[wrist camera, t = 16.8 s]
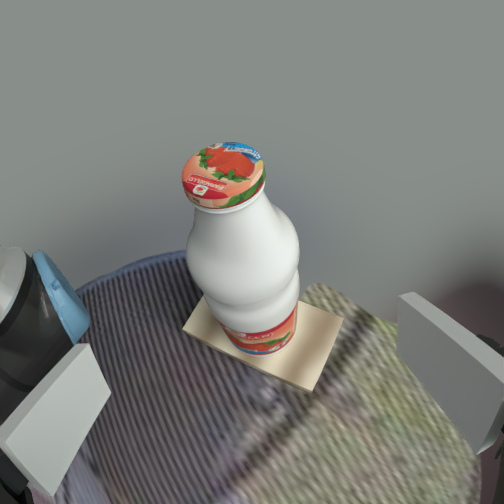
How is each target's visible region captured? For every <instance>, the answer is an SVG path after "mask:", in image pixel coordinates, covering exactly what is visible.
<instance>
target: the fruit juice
mask: <svg viewBox="0 0 504 504" xmlns="http://www.w3.org/2000/svg"><path fill="white" fill-rule="evenodd" d="M182 183H183V187H184V191H185V193H186V196H187V197H188V199H189V201H190V202H191V203H192V205H193V206H195V210H194V223H193V227H192V229H191V231H190V233H189V236H188V239H187V244H186V260H187V265H188V268H189V271H190V273H191V275H192V278H193V280H194V281H195V283H196V284H197V286H198V287H199V288H200V289H201V290H202V291H203V295H204V298H205V300H206V303H207V305H208V307H209V309H210V310H211V312H212V314H213V315H214V316H215V318H216V319H217V321H218V322H219V324H220V326H221V327H222V329H223V330H224V332H225V333H226V335H227V336H228V338H229V339H230V341H231V342H232V344H233V345H234V346H235V347H236V348H237V349H238V350H239V351H241V352H242V353H244V354H246V355H248V356H252V357H257V358H265V357H270V356H273V355H276V354H278V353H280V352H281V351H283V350H284V349H285V348H286V347H287V346H288V345H289V344H290V342H291V341H292V339H293V337H294V335H295V331H296V326H297V313H298V298H299V275H298V269H297V265H298V261H299V242H298V237H297V233H296V231H295V229H294V226H293V224H292V223H291V221H290V220H289V218H288V217H287V216H286V215H285V214H284V213H283V212H282V211H281V210H280V209H279V208H277V207H276V206H274V205H273V204H271V203H270V202H269V200H268V198H267V196H266V195H265V193H264V191H263V189H264V185H265V168H264V165H263V161H262V158H261V156H260V155H259V153H258V152H257V151H256V150H255V149H253V148H252V147H250V146H248V145H245V144H241V143H234V142H226V143H219V144H215V145H211V146H209V147H206V148H204V149H202V150H200V151H199V152H197V153H196V154H194V155H193V156H192V157H191V158H190V159H189V160H188V161H187V163H186V164H185V166H184V169H183V171H182Z"/></svg>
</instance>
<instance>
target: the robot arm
mask: <svg viewBox="0 0 504 504" xmlns="http://www.w3.org/2000/svg"><path fill="white" fill-rule="evenodd" d="M89 322H90V318H89V314H88V312H87V310H86V308H85V306H84V305H83V303H82V302H81V300H80V299H79V297H78V296H77V294H76V293H75V291H74V290H73V288H72V287H71V286H70V284H69V283H68V281H67V280H66V278H65V277H64V276H63V274H62V273H61V272H60V270H59V269H58V268H57V267H56V265H55V264H54V262H53V261H52V260H51V259H50V257H49V256H48V255H47V254H46V253H44V251H42V250H38V251H37V252H34V253H33V254H32V257H29V256H28V255H27V254H26V253H25V252H24V251H23V250H22V249H21V248H20V247H17V246H15V247H9V248H3V247H1V246H0V425H2V426H1V427H0V504H34V503H33V498H32V493H31V491H30V489H29V488H28V487H27V486H26V485H27V483H28V482H30V483H31V484H32V485H33V486H34V487H35V488H36V489H37V490H38V491H39V492H41V493H44V494H46V495H49V496H52V497H53V496H54V494H55V493H56V491H57V489H58V487H59V485H60V483H61V481H62V479H63V477H64V475H65V473H66V472H67V470H68V468H69V466H70V464H71V462H72V460H73V459H74V457H75V455H76V453H77V451H78V450H79V448H80V446H81V444H82V442H83V441H84V439H85V437H86V435H87V434H88V432H89V430H90V428H91V427H92V425H93V423H94V421H95V420H96V418H97V416H98V414H99V413H100V411H101V409H102V408H103V406H104V404H105V403H106V401H107V399H108V398H109V396H110V394H111V392H110V390H109V387H108V385H107V383H106V381H105V379H104V377H103V375H102V373H101V370H100V368H99V366H98V364H97V361H96V359H95V357H94V354H93V352H92V350H91V347H90V345H89V343H86V344H77V341H78V340H79V339H80V338H81V336H82V335H83V334H84V333H85V331H86V330H87V329H88V327H89ZM396 353H397V354H398V355H399V356H400V358H401V359H402V360H403V361H404V362H405V364H406V365H407V366H408V367H409V369H410V370H411V371H412V372H413V373H414V375H415V376H416V377H417V378H418V380H419V381H420V382H421V383H422V384H423V386H424V387H425V388H426V389H427V391H428V392H429V393H430V394H431V396H432V397H433V398H434V400H435V401H436V402H437V403H438V405H439V406H440V407H441V408H442V410H443V411H444V412H445V414H446V415H447V416H448V417H449V419H450V420H451V421H452V423H453V424H454V425H455V427H456V428H457V429H458V431H459V432H460V433H461V435H462V436H463V437H464V439H465V440H466V441H467V443H468V444H469V445H470V447H471V448H472V449H473V451H474V452H475V453H476V455H477V454H479V453H481V452H482V451H484V450H485V449H487V448H488V447H490V446H491V445H493V444H494V443H495V441H496V439H497V438H498V436H499V434H500V432H501V431H502V432H503V433H504V348H503V347H501V345H500V344H498V343H497V342H495V341H494V340H493V339H491V338H488V337H485V336H483V335H477V336H475V335H474V334H472V333H471V332H470V331H468V330H467V329H466V328H464V327H463V326H462V325H460V324H459V323H457V322H456V321H455V320H453V319H452V318H451V317H449V316H448V315H446V314H445V313H443V312H442V311H441V310H439V309H438V308H437V307H435V306H434V305H432V304H431V303H429V302H428V301H427V300H425V299H424V298H422V297H421V296H419V295H418V294H416V293H415V292H411V293H407V294H403V295H400V296H398V332H397V349H396ZM501 451H502V455H501V463H500V469H499V476H498V481H497V487H496V491H495V496H494V500H493V504H504V440H503V443H502V444H501V446H500V448H499V449H498V451H497V453H496V455H495V459H497V458H498V456H499V455H500V453H501Z"/></svg>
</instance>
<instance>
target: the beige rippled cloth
mask: <svg viewBox="0 0 504 504" xmlns="http://www.w3.org/2000/svg"><path fill="white" fill-rule="evenodd" d="M343 319H344V318H342V317H340V316H337V315H334V314H332V313H329V312H327V311H324V310H321V309H319V308H316V307H314V306H311V305H309V304H306V303H304V302H301V301H298V313H297V326H296V331H295V335H294V337H293V339H292V341H291V342H290V344H289V345H288V346H287V347H286V348H285V349H284V350H283V351H281V352H280V353H278V354H276V355H273V356H270V357H265V358H257V357H252V356H248V355H246V354H244V353H242V352H241V351H239V350H238V349H237V348H236V347H235V346H234V345H233V344H232V342H231V341H230V339H229V338H228V336H227V335H226V333H225V332H224V330H223V329H222V327H221V326H220V324H219V322H218V321H217V319H216V318H215V316H214V315H213V314H212V312H211V310H210V309H209V307H208V305H207V303H206V300H205V298H204V295H203V296H202V298H201V300H200V301H199V303H198V304H197V306H196V308H195V309H194V311H193V313H192V314H191V316H190V317H189V319H188V321H187V322H186V324H185V326H184V327H183V330H184V331H185V332H186V333H187V334H188V335H190V336H191V337H193V338H195V339H197V340H199V341H201V342H202V343H204V344H206V345H208V346H210V347H212V348H214V349H216V350H218V351H220V352H222V353H224V354H226V355H228V356H230V357H232V358H234V359H236V360H238V361H240V362H242V363H244V364H246V365H248V366H250V367H252V368H254V369H256V370H258V371H261V372H263V373H265V374H267V375H269V376H272V377H274V378H276V379H278V380H281V381H283V382H285V383H287V384H290V385H292V386H294V387H297V388H299V389H302V390H304V391H306V392H309V393H311V392H312V390H313V388H314V386H315V384H316V382H317V380H318V378H319V376H320V373H321V371H322V369H323V367H324V364H325V362H326V360H327V358H328V355H329V353H330V351H331V348H332V346H333V344H334V341H335V339H336V337H337V334H338V332H339V329H340V327H341V324H342V322H343Z"/></svg>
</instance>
